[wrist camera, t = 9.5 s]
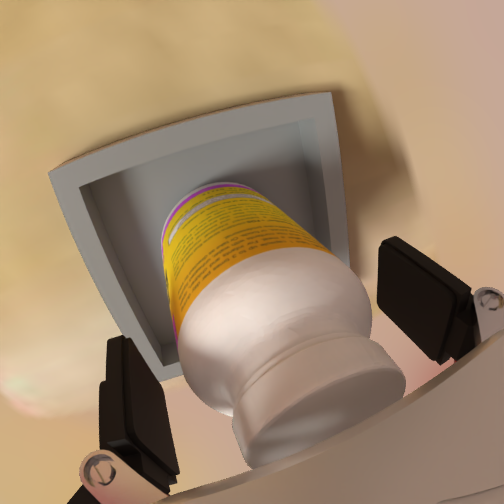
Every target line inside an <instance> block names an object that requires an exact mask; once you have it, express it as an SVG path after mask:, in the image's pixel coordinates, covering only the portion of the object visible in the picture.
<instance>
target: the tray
mask: <svg viewBox="0 0 504 504" xmlns="http://www.w3.org/2000/svg"><path fill="white" fill-rule="evenodd" d="M48 175H49V178H50V181H51V183H52V186H53V189H54V192H55V194H56V197H57V199H58V202H59V205H60V207H61V210H62V212H63V215H64V217H65V220H66V222H67V224H68V227H69V229H70V231H71V234H72V236H73V238H74V241H75V243H76V245H77V247H78V250H79V252H80V254H81V256H82V258H83V260H84V262H85V265H86V267H87V269H88V271H89V273H90V275H91V277H92V279H93V281H94V283H95V285H96V287H97V289H98V291H99V293H100V295H101V296H102V298H103V300H104V302H105V304H106V306H107V308H108V310H109V311H110V313H111V315H112V317H113V319H114V320H115V322H116V324H117V326H118V327H119V329H120V331H121V333H122V334H123V335H124V336H125V337H126V338H129V337H130V338H131V339H132V340H133V342H134V343H135V345H136V347H137V348H138V350H139V352H140V353H141V355H142V356H143V358H144V360H145V361H146V363H147V364H148V366H149V368H150V369H151V371H152V372H153V374H154V375H155V377H156V378H157V380H158V381H159V382H161V381H165V380H168V379H171V378H174V377H178V376H181V375H184V374H183V371H182V368H181V364H180V360H179V355H178V350H177V345H176V339H175V334H174V328H173V322H172V317H171V311H170V306H169V300H168V293H167V287H166V280H165V274H164V267H163V259H162V250H161V237H162V231H163V227H164V224H165V222H166V219H167V217H168V216H169V214H170V212H171V211H172V209H173V208H174V207H175V205H176V204H177V203H178V202H179V201H180V200H181V199H182V198H183V197H184V196H186V195H187V194H188V193H190V192H191V191H193V190H195V189H197V188H199V187H201V186H204V185H207V184H212V183H218V182H233V183H238V184H242V185H245V186H248V187H250V188H252V189H254V190H255V191H257V192H259V193H260V194H261V195H263V196H264V197H265V198H267V199H268V200H269V201H271V202H272V203H273V204H274V205H275V206H277V207H278V208H279V209H280V210H281V211H283V212H284V213H285V214H286V215H287V216H289V217H290V218H291V219H292V220H293V221H295V222H296V223H297V224H298V225H299V226H301V227H302V228H303V229H304V230H305V231H307V232H308V233H309V234H310V235H311V236H313V237H314V238H315V239H316V240H317V241H318V242H320V243H321V244H322V245H323V246H324V247H326V248H327V249H328V250H329V251H330V252H332V253H333V254H334V255H335V256H336V257H337V258H339V259H340V260H341V261H342V262H343V263H344V264H345V265H347V266H348V267H349V268H350V259H349V241H348V227H347V214H346V202H345V192H344V182H343V173H342V164H341V156H340V148H339V140H338V133H337V126H336V119H335V113H334V106H333V100H332V94H331V92H310V93H302V94H296V95H290V96H284V97H278V98H273V99H268V100H263V101H258V102H253V103H248V104H244V105H239V106H235V107H230V108H226V109H222V110H218V111H214V112H210V113H206V114H202V115H198V116H195V117H191V118H188V119H184V120H181V121H177V122H174V123H170V124H167V125H164V126H161V127H157V128H154V129H151V130H148V131H145V132H142V133H139V134H136V135H133V136H130V137H127V138H125V139H122V140H119V141H116V142H114V143H111V144H108V145H106V146H103V147H100V148H98V149H95V150H93V151H90V152H88V153H85V154H83V155H80V156H78V157H76V158H73V159H71V160H69V161H66V162H64V163H62V164H60V165H59V166H57V167H56V168H54V169H53V170H51V171H50V172H48Z"/></svg>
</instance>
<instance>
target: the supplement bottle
mask: <svg viewBox="0 0 504 504" xmlns="http://www.w3.org/2000/svg"><path fill="white" fill-rule="evenodd" d="M161 250H162V259H163V267H164V274H165V280H166V287H167V293H168V300H169V306H170V311H171V317H172V322H173V328H174V334H175V339H176V345H177V350H178V355H179V360H180V364H181V368H182V371H183V374H184V377H185V379H186V381H187V383H188V384H189V386H190V388H191V389H192V390H193V392H194V393H195V394H196V395H197V396H198V397H199V398H200V399H201V400H202V401H203V402H204V403H205V404H207V405H208V406H210V407H211V408H213V409H214V410H216V411H218V412H220V413H223V414H225V415H228V416H231V417H233V419H232V428H233V432H234V434H235V437H236V439H237V442H238V444H239V447H240V450H241V452H242V455H243V458H244V460H245V462H246V463H247V465H248V466H249V467H250V468H252V469H256V468H259V467H261V466H264V465H267V464H270V463H272V462H275V461H277V460H280V459H283V458H285V457H288V456H290V455H292V454H295V453H297V452H300V451H302V450H304V449H307V448H309V447H311V446H313V445H316V444H318V443H320V442H322V441H324V440H326V439H328V438H331V437H333V436H335V435H337V434H339V433H341V432H343V431H345V430H347V429H349V428H351V427H353V426H355V425H356V424H358V423H360V422H362V421H364V420H366V419H368V418H370V417H371V416H373V415H375V414H377V413H378V412H380V411H382V410H384V409H385V408H387V407H389V406H390V405H392V404H394V403H396V402H397V401H399V400H400V399H402V398H403V394H404V392H405V387H406V380H405V376H404V374H403V372H402V371H401V370H400V368H399V367H398V366H397V364H396V363H395V362H394V361H393V360H392V359H391V357H390V356H389V355H388V354H387V353H386V351H385V350H384V349H383V347H382V346H380V345H379V344H378V343H376V342H375V341H372V340H370V339H369V338H370V333H371V327H372V309H371V304H370V300H369V297H368V294H367V292H366V289H365V287H364V286H363V284H362V282H361V281H360V279H359V278H358V276H357V275H356V274H355V273H354V272H353V271H352V270H351V269H350V268H349V267H348V266H347V265H345V264H344V263H343V262H342V261H341V260H340V259H339V258H337V257H336V256H335V255H334V254H333V253H332V252H330V251H329V250H328V249H327V248H326V247H324V246H323V245H322V244H321V243H320V242H318V241H317V240H316V239H315V238H314V237H313V236H311V235H310V234H309V233H308V232H307V231H305V230H304V229H303V228H302V227H301V226H299V225H298V224H297V223H296V222H295V221H293V220H292V219H291V218H290V217H289V216H287V215H286V214H285V213H284V212H283V211H281V210H280V209H279V208H278V207H277V206H275V205H274V204H273V203H272V202H271V201H269V200H268V199H267V198H265V197H264V196H263V195H261V194H260V193H259V192H257V191H255V190H254V189H252V188H250V187H248V186H245V185H242V184H238V183H233V182H218V183H212V184H207V185H204V186H201V187H199V188H197V189H195V190H193V191H191V192H190V193H188V194H187V195H186V196H184V197H183V198H182V199H181V200H180V201H179V202H178V203H177V204H176V205H175V207H174V208H173V209H172V211H171V212H170V214H169V216H168V217H167V219H166V222H165V224H164V227H163V231H162V237H161Z"/></svg>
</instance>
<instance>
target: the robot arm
mask: <svg viewBox="0 0 504 504" xmlns="http://www.w3.org/2000/svg"><path fill="white" fill-rule="evenodd" d="M377 304H378V307H379V308H380V309H381V310H382V311H383V312H384V313H385V314H386V315H387V316H388V317H389V318H390V319H391V320H392V321H393V322H394V323H395V324H396V325H397V326H398V327H399V328H400V329H401V330H402V331H403V332H404V333H405V334H406V335H407V336H408V337H409V338H410V339H411V340H412V341H413V342H414V343H415V344H416V345H417V346H418V347H419V348H420V349H421V350H422V351H423V352H424V353H425V354H426V355H427V356H428V357H429V358H430V359H431V360H433V361H436V362H437V363H438V364H439V365H442V364H443V363H445V362H446V361H447V360H449V358H450V357H452V358H453V359H454V364H453V365H451V366H450V367H448V368H447V369H446V370H444V371H443V372H441V373H440V374H439V375H437V376H436V377H434V378H433V379H431V380H430V381H428V382H427V383H425V384H424V385H422V386H421V387H420V388H418V389H416V390H415V391H413V392H412V393H410V394H408V395H407V396H405V397H404V398H402V399H400V400H399V401H397V402H396V403H394V404H392V405H390V406H389V407H387V408H385V409H384V410H382V411H380V412H378V413H377V414H375V415H373V416H371V417H370V418H368V419H366V420H364V421H362V422H360V423H358V424H356V425H355V426H353V427H351V428H349V429H347V430H345V431H343V432H341V433H339V434H337V435H335V436H333V437H331V438H328V439H326V440H324V441H322V442H320V443H318V444H316V445H313V446H311V447H309V448H307V449H304V450H302V451H300V452H297V453H295V454H292V455H290V456H288V457H285V458H283V459H280V460H277V461H275V462H272V463H270V464H267V465H264V466H261V467H259V468H256V469H253V470H250V471H247V472H245V473H242V474H239V475H236V476H233V477H230V478H226V479H223V480H220V481H217V482H214V483H210V484H207V485H203V486H200V487H197V488H193V489H190V490H187V491H183V492H180V493H177V494H174V495H169V494H168V493H169V492H170V487H169V485H172V484H176V483H177V479H176V475H178V474H180V471H179V466H178V462H177V457H176V453H175V448H174V443H173V438H172V434H171V428H170V424H169V418H168V412H167V407H166V401H165V395H164V391H163V388H162V386H161V384H160V383H159V381H158V380H157V378H156V377H155V375H154V374H153V372H152V371H151V369H150V368H149V366H148V364H147V363H146V361H145V360H144V358H143V356H142V355H141V353H140V352H139V350H138V348H137V347H136V345H135V343H134V342H133V340H132V339H131V338H130V337H129V338H126V337H125V336H124V335H121V336H118V337H114V338H111V339H108V341H107V356H106V381H102V382H101V383H100V387H99V442H100V450H96V451H94V452H91V453H90V454H89V455H87V456H86V457H85V458H84V460H83V461H82V463H81V466H80V471H79V472H80V473H79V475H80V479H81V482H82V483H83V485H82V486H81V487H80V488H79V490H78V491H77V492H76V493H75V494H74V496H73V497H72V498H71V499H70V500H69V502H68V503H67V504H504V294H503V293H502V292H500V291H499V290H497V289H495V288H490V287H482V288H480V289H478V290H477V291H475V294H474V295H472V294H471V288H470V287H469V286H468V285H467V284H465V283H464V282H463V281H461V280H460V279H458V278H457V277H456V276H454V275H453V274H451V273H450V272H449V271H447V270H446V269H444V268H443V267H442V266H440V265H439V264H437V263H436V262H434V261H433V260H432V259H430V258H429V257H427V256H426V255H424V254H423V253H421V252H420V251H418V250H417V249H415V248H414V247H412V246H411V245H409V244H408V243H406V242H405V241H403V240H402V239H400V238H399V237H397V236H393V237H391V238H388V239H386V240H383V241H382V243H381V246H380V247H379V250H378V284H377Z"/></svg>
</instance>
